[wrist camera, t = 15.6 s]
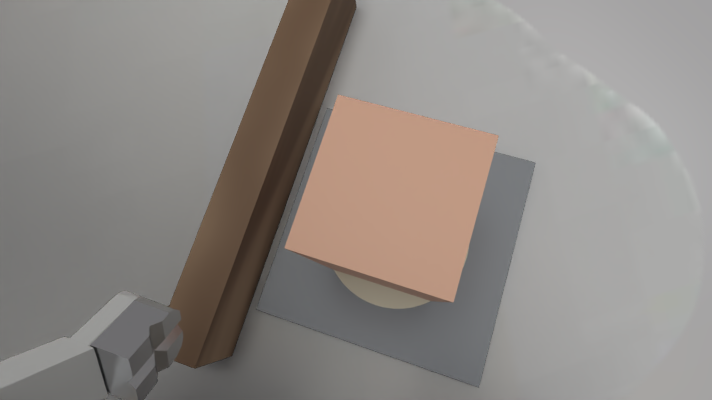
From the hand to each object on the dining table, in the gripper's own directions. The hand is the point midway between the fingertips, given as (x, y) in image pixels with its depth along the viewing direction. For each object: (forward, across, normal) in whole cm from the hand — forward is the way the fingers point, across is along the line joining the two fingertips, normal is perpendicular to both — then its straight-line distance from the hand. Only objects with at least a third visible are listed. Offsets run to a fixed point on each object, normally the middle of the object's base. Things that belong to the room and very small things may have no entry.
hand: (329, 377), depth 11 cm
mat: (+11, 0, +4) cm, 12 cm away
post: (+11, 0, +4) cm, 12 cm away
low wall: (+13, +7, +3) cm, 15 cm away
